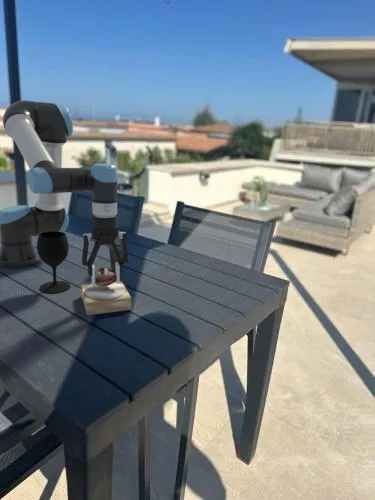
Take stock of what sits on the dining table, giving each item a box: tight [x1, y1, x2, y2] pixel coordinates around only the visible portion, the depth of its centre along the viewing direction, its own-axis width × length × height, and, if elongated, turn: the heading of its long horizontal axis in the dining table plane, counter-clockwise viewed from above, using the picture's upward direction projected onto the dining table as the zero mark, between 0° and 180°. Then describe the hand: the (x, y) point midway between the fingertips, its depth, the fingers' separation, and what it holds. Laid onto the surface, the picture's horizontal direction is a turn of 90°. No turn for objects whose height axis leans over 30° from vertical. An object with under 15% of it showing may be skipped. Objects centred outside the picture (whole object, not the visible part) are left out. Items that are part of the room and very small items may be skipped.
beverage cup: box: [107, 235, 123, 272], centre depth 145 cm, size 7×7×20 cm
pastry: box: [95, 266, 116, 286], centre depth 117 cm, size 8×8×5 cm
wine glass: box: [36, 231, 71, 294], centre depth 124 cm, size 10×10×20 cm
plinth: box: [80, 281, 132, 316], centre depth 117 cm, size 14×14×5 cm
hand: (105, 283), depth 116 cm, fingers closed on pastry, 7 cm apart
